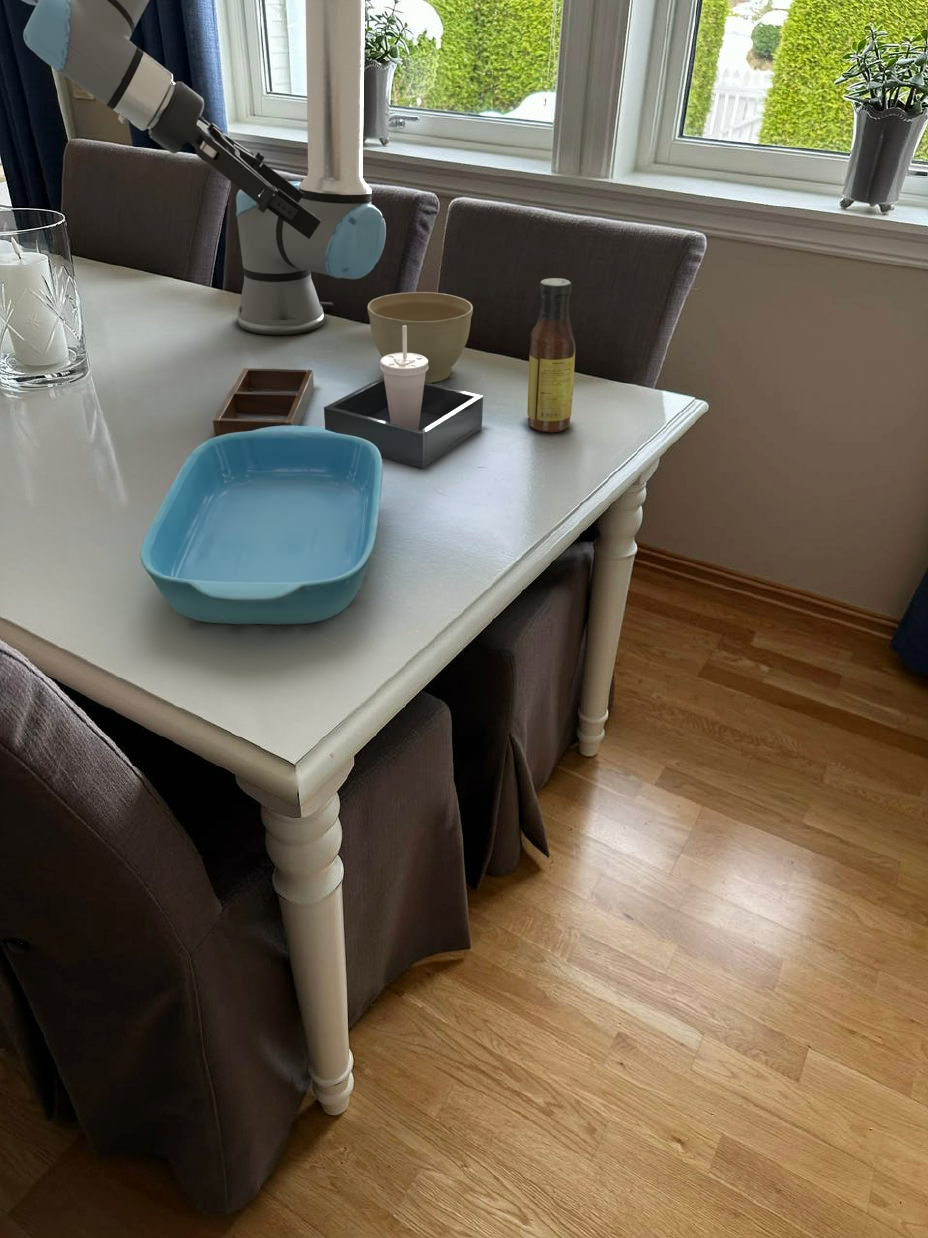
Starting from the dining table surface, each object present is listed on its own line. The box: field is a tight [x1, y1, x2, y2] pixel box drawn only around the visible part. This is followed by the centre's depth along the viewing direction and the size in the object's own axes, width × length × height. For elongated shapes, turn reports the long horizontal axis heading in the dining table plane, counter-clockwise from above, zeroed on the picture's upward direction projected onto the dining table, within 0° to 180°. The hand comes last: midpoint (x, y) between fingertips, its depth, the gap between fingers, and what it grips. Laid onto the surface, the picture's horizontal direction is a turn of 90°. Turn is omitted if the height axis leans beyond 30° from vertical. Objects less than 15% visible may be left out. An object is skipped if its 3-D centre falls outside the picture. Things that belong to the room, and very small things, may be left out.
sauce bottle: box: [526, 277, 576, 433], centre depth 123 cm, size 7×6×20 cm
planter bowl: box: [367, 291, 474, 384], centre depth 141 cm, size 16×16×11 cm
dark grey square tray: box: [323, 376, 484, 470], centre depth 123 cm, size 16×16×5 cm
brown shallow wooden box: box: [212, 367, 315, 437], centre depth 128 cm, size 20×10×3 cm, turn 0°
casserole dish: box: [139, 425, 384, 625], centre depth 96 cm, size 37×22×7 cm, turn 1°
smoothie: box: [379, 325, 428, 430], centre depth 120 cm, size 6×6×14 cm
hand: (306, 215), depth 122 cm, fingers open, 13 cm apart
